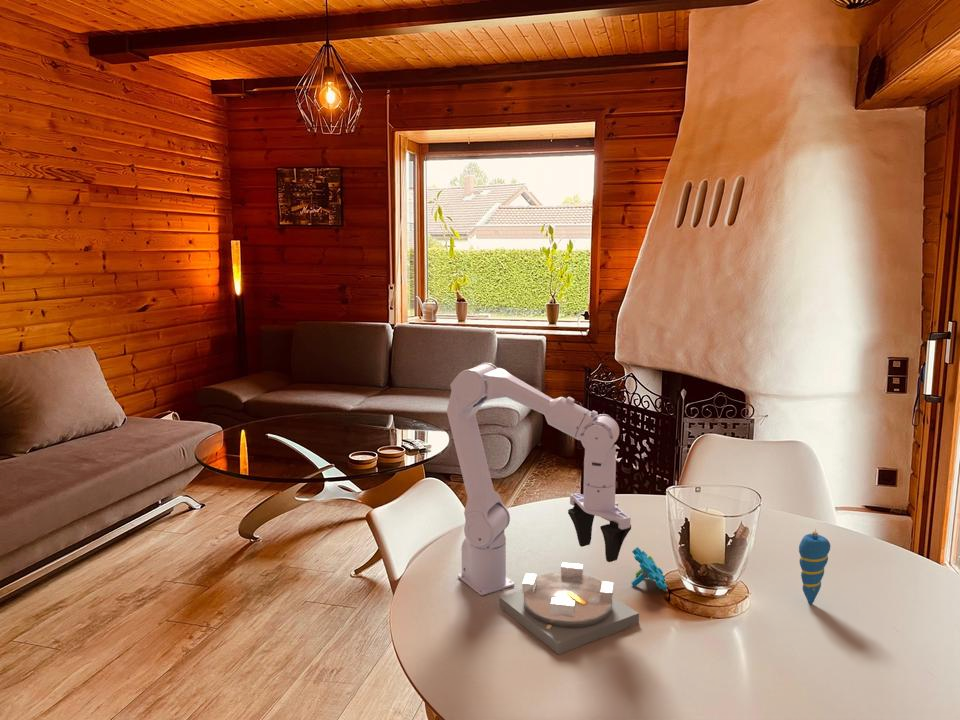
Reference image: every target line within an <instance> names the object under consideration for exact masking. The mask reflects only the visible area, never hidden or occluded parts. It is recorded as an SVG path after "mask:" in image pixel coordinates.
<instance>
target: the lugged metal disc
mask: <svg viewBox="0 0 960 720" xmlns="http://www.w3.org/2000/svg"><path fill="white" fill-rule="evenodd" d="M521 585H522V589H521V590H522V593H524V606H525V608H526V610H527V611H528V613H530V614H531V615H532V616H533V617H535V618H536V619H538V620H540V621H543V622H545V623H548V624H552V625H556V626H563V627H582V626H589V625H593V624H596V623H598V622H601V621H602V620H604V619H606V618H607V617H608V616H609V615H610V613H611V611H612V597H614V581H613V582H612V581H605V580H602V581H600V579H597V578H595V577H591V576H589V575H586V574H584V564H583V563H575V562H574V563H573V562H572V563H571V562H565V561H564V562H561V566H560V572H552V573H551V572H550V573H546V574H542V575H539V576H538V574H537V573H531V572H530V573H528V572H526V573H525V575H524V578H523V581H522V584H521Z"/></svg>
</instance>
